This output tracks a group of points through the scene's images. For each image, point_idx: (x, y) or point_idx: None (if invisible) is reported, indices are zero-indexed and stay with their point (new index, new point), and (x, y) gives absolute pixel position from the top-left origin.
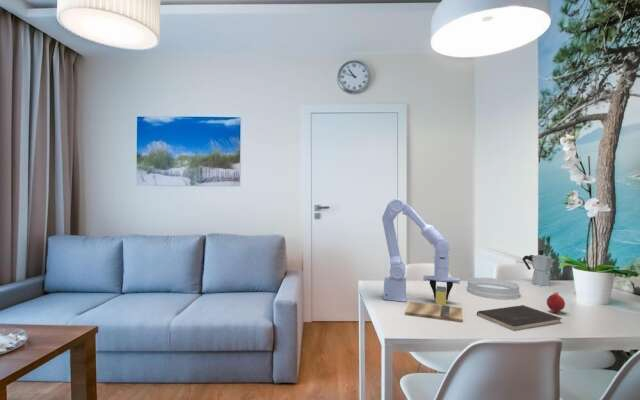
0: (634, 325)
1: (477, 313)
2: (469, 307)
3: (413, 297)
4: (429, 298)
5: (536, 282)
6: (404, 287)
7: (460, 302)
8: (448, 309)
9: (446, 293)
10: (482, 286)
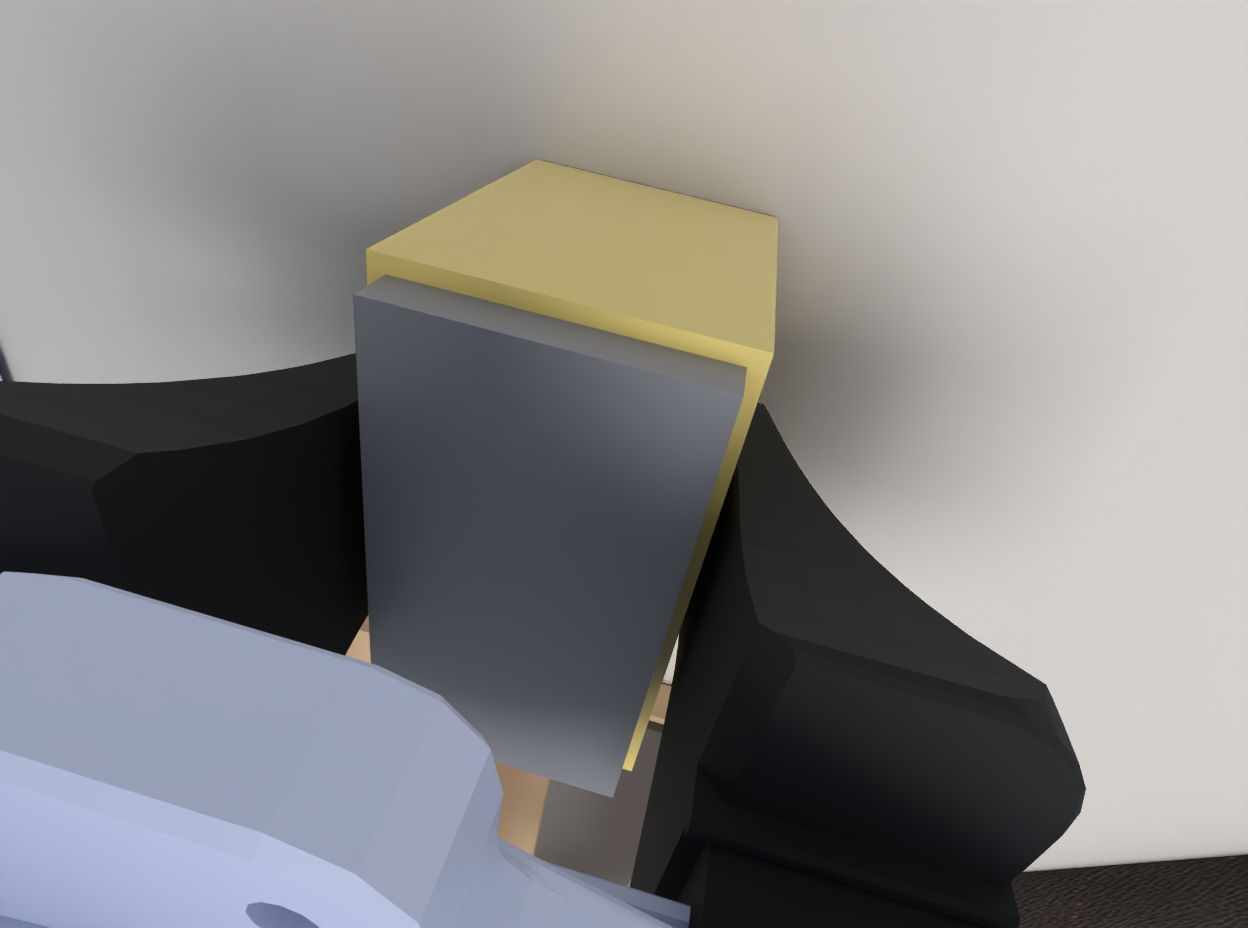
0: None
1: (1020, 902)
2: (1122, 628)
3: (5, 66)
4: (361, 70)
5: None
6: None
7: (1133, 315)
8: (634, 837)
9: (687, 608)
10: None
